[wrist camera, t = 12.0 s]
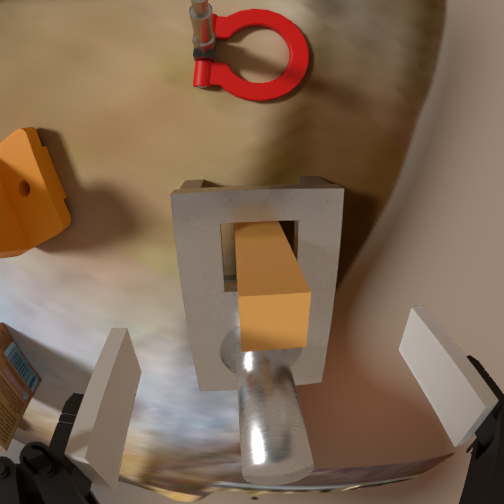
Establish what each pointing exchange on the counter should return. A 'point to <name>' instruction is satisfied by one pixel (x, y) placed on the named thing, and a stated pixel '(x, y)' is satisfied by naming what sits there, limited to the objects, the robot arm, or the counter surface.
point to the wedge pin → (269, 289)
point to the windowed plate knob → (227, 313)
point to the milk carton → (13, 386)
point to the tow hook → (223, 28)
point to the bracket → (28, 194)
